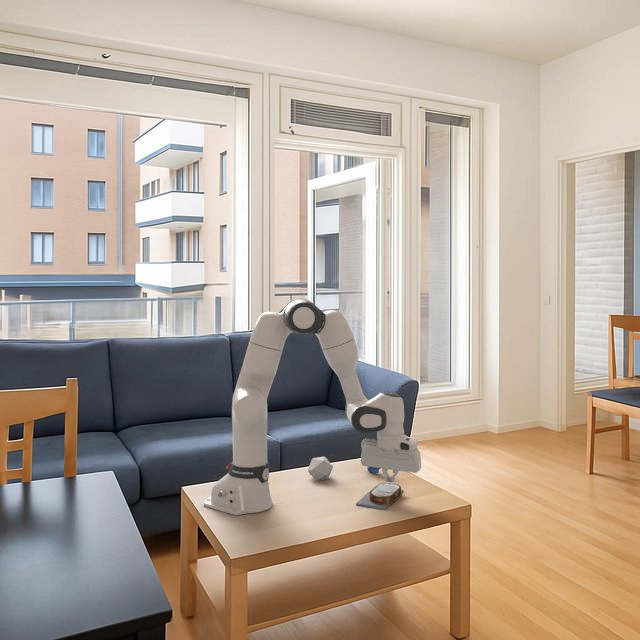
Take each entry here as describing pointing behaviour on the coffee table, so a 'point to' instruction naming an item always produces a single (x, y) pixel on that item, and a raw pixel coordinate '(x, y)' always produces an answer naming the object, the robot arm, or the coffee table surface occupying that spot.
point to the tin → (385, 493)
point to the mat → (368, 503)
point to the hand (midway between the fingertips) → (390, 481)
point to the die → (320, 468)
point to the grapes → (373, 469)
